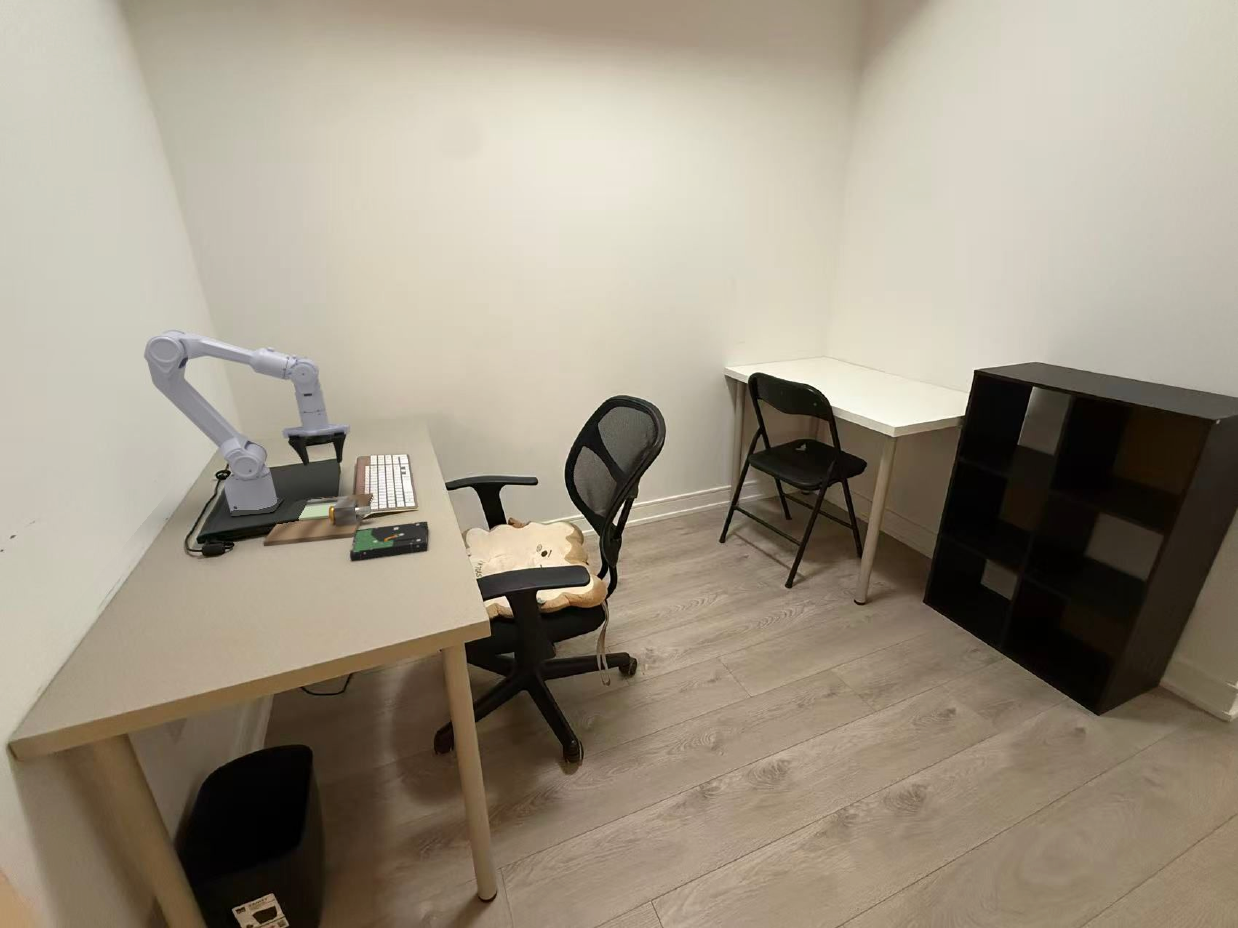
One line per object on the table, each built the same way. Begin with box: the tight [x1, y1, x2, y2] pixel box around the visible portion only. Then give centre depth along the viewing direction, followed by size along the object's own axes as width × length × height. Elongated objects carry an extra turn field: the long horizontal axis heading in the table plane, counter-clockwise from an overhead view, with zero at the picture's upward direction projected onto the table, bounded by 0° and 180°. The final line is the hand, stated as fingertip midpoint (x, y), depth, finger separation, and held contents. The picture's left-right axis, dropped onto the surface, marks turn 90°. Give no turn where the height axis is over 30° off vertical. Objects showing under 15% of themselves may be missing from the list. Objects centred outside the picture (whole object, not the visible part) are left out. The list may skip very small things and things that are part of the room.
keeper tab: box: [298, 502, 337, 521], centre depth 133 cm, size 9×6×1 cm
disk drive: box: [349, 520, 429, 562], centre depth 120 cm, size 10×3×15 cm
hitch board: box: [262, 492, 374, 547], centre depth 131 cm, size 18×22×5 cm
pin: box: [329, 505, 372, 521], centre depth 128 cm, size 8×3×3 cm, turn 102°
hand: (323, 462), depth 141 cm, fingers open, 7 cm apart
